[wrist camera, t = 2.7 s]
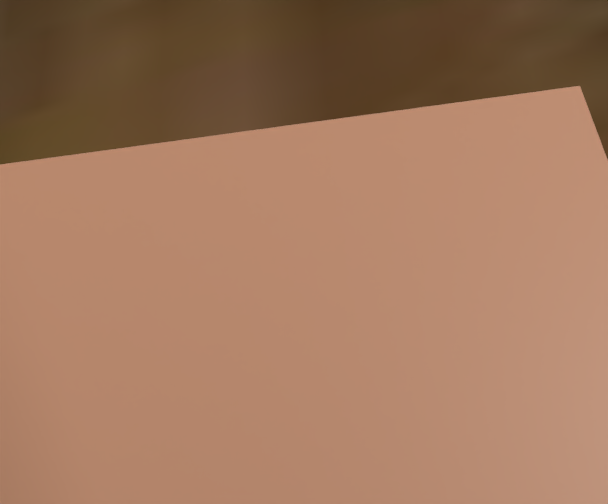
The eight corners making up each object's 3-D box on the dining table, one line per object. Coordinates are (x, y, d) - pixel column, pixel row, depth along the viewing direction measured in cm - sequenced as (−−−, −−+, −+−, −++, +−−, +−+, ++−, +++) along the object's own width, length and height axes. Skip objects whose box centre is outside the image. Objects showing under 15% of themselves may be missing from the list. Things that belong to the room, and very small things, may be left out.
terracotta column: (377, 510, 15) (892, 922, 3) (209, 546, 14) (-151, 1269, 2) (343, 344, 16) (580, 84, 4) (187, 372, 16) (-118, 181, 3)
